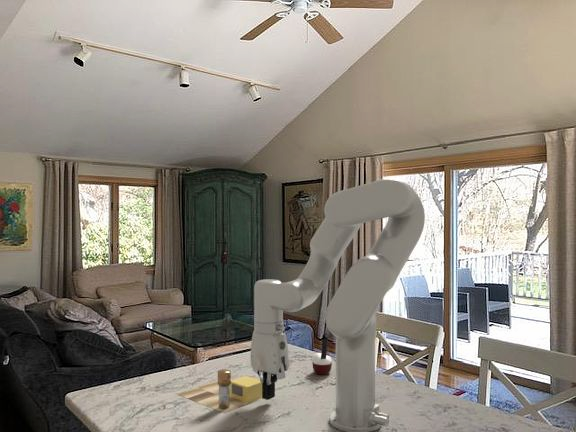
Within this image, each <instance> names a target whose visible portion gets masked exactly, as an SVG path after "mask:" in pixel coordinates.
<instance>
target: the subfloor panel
mask: <svg viewBox="0 0 576 432" xmlns="http://www.w3.org/2000/svg"><path fill="white" fill-rule="evenodd" d="M176 395H178V396H180V397H182V398H185V399H187V400H190V401H192V402H195V403H197V404H200V405H202V406H205V407H208V408H210V409H213V410H215V411H218V412H220V413H223V414H226V413H228V412H229V413H230V412H231V411H233V410H236V409H238V408H242V407H244V406H245V405H248V404H251V403H253V402H255V401H258V400H260V399H263V398H262V397H260V398H258V399H255V400H253V401H250V402H245V401H242V400H239V399H236V398H234V397H231V396H230V407H229V408H227V409H220V408H219V385H218V379H216V380H213V381H211V382H208V383H205V384H202V385H199V386H195V387H193V388H191V389H187V390H184V391H181V392H179V393H176Z"/></svg>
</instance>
